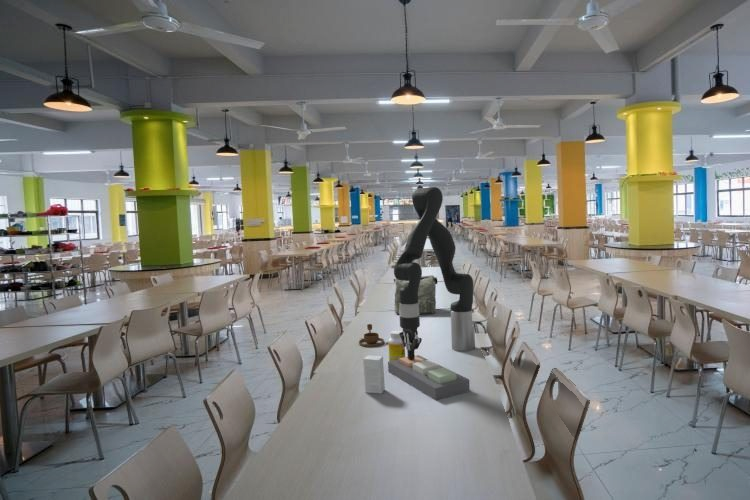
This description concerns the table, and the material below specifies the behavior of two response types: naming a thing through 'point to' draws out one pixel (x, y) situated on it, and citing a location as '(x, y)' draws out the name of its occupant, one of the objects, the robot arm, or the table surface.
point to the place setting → (371, 338)
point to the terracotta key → (409, 361)
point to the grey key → (424, 367)
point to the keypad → (428, 381)
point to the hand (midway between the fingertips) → (411, 359)
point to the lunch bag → (420, 294)
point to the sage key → (441, 375)
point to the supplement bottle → (396, 346)
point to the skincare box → (374, 374)
